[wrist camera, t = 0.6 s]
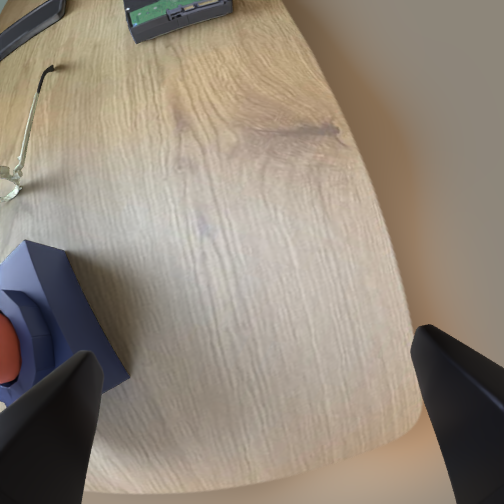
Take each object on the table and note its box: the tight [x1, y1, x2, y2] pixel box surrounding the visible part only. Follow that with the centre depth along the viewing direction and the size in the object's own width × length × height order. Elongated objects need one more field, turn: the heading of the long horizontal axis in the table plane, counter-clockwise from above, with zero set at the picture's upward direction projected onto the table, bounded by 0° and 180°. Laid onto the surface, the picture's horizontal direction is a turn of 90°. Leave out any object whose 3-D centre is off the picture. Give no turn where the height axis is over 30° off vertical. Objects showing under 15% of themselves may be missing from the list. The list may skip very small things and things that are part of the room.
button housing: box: [0, 240, 130, 407], centre depth 17 cm, size 11×9×7 cm
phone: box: [0, 0, 66, 60], centre depth 26 cm, size 8×1×15 cm
